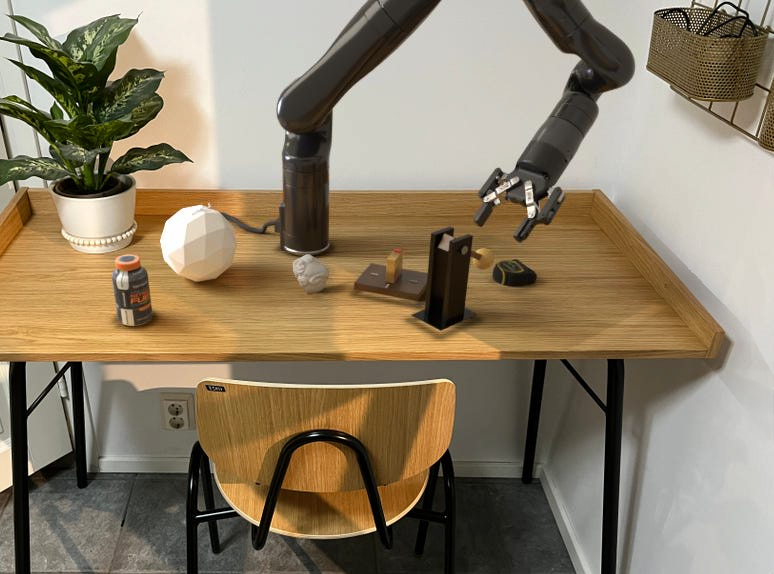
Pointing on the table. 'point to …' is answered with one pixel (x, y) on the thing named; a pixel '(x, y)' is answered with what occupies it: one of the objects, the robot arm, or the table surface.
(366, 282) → the lock plate
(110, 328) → the table surface
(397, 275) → the tan wooden block
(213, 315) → the table surface
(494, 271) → the tape measure
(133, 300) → the pill bottle
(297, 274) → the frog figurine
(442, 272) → the bracket
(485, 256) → the latch lever
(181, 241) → the geodesic sphere
